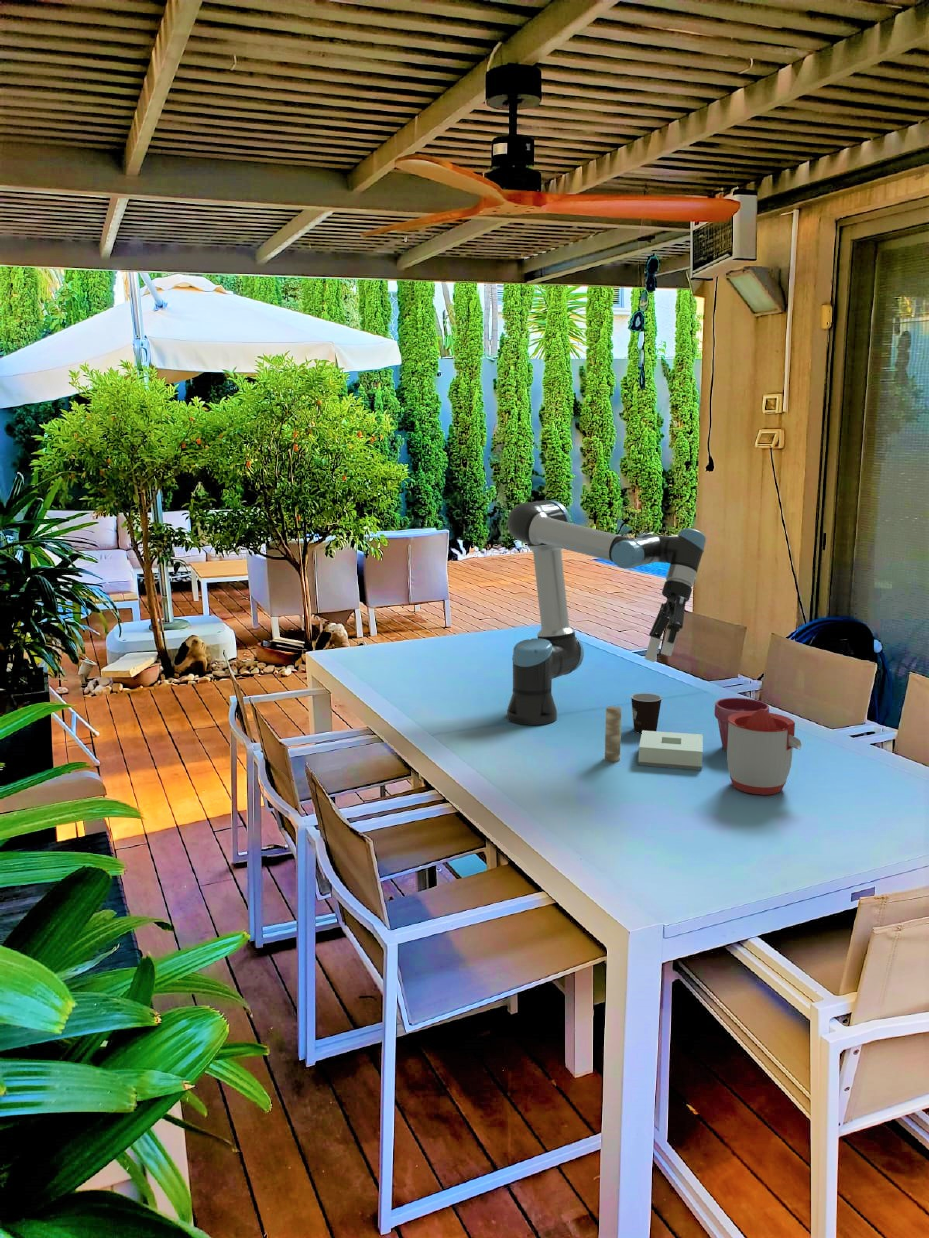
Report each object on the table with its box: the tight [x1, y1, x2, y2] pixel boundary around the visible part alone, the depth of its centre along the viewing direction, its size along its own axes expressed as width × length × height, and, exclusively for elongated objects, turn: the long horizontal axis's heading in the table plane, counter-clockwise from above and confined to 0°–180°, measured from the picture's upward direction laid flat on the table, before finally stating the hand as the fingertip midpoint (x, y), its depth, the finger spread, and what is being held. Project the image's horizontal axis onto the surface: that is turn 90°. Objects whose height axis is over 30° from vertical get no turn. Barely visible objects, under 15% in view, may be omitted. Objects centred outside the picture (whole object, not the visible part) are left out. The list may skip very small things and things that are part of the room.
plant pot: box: [714, 697, 770, 752], centre depth 257 cm, size 14×14×13 cm
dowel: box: [604, 705, 622, 763], centre depth 250 cm, size 4×4×14 cm
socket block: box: [637, 730, 704, 771], centre depth 251 cm, size 16×14×5 cm
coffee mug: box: [630, 692, 663, 734], centre depth 275 cm, size 12×9×10 cm
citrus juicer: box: [726, 709, 802, 796], centre depth 229 cm, size 16×17×20 cm
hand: (657, 657), depth 254 cm, fingers open, 13 cm apart
